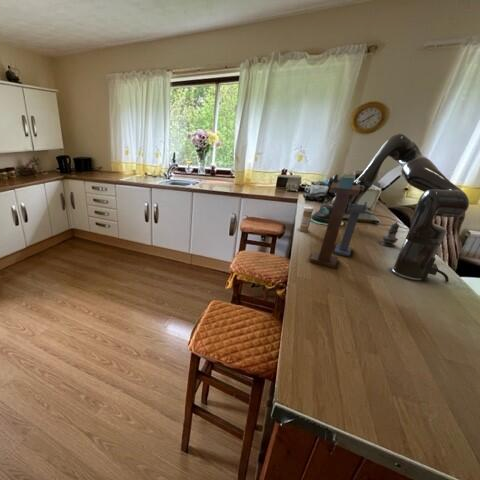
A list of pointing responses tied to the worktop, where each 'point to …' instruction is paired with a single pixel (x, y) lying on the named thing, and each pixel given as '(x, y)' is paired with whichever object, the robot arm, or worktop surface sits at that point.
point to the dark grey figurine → (391, 236)
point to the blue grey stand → (350, 228)
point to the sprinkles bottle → (306, 219)
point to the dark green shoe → (323, 215)
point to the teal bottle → (347, 181)
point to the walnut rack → (334, 225)
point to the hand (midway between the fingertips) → (349, 177)
